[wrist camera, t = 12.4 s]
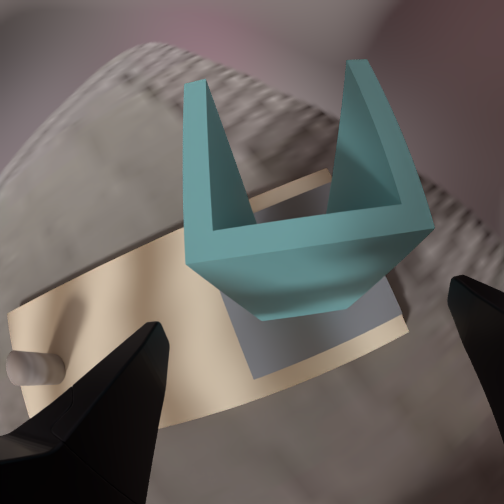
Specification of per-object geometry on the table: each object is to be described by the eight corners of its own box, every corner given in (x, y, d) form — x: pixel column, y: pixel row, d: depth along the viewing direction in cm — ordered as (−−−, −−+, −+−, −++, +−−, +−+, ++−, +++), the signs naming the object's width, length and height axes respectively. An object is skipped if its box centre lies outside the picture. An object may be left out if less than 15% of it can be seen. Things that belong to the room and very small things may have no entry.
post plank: (325, 176, 19) (330, 130, 14) (402, 332, 16) (435, 326, 11) (16, 315, 19) (-28, 305, 15) (49, 446, 16) (5, 456, 12)
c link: (346, 308, 15) (434, 228, 5) (261, 321, 16) (185, 264, 5) (332, 228, 16) (367, 59, 6) (252, 239, 17) (184, 83, 6)
